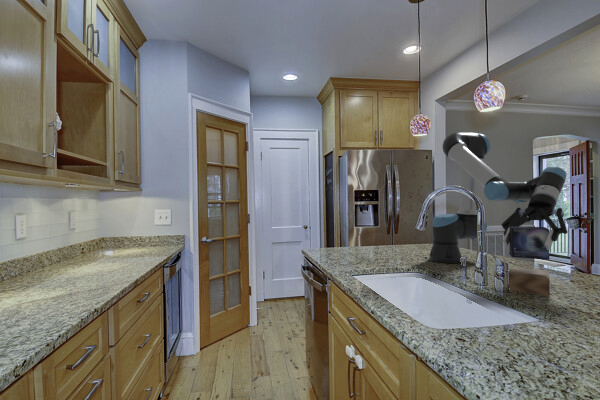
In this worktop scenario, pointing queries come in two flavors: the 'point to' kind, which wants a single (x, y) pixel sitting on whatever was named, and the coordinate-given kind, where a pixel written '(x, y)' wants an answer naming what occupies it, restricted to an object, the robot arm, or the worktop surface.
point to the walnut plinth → (529, 281)
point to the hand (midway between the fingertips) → (525, 245)
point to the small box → (528, 242)
